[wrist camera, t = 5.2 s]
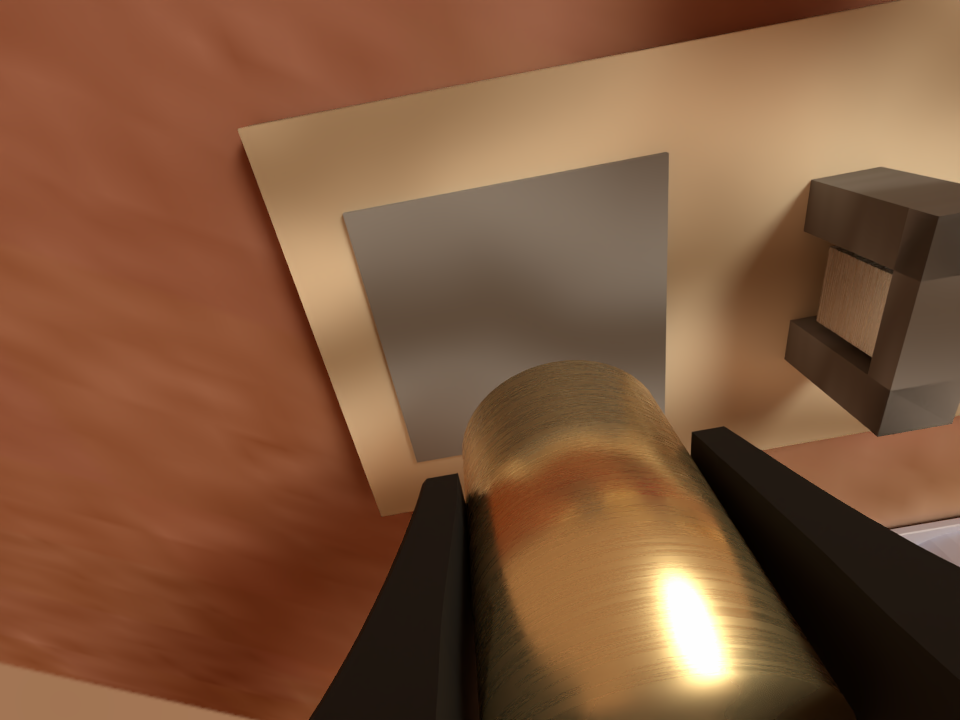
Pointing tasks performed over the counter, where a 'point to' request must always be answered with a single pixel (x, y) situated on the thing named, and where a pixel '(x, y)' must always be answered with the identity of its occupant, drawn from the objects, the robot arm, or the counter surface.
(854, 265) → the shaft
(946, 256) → the clamp jig
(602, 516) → the cylinder
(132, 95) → the counter surface
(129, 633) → the counter surface
